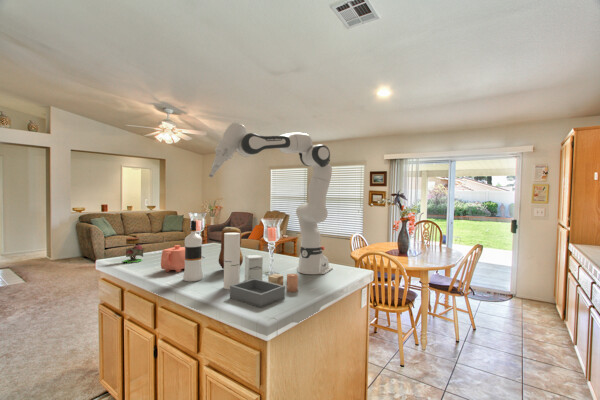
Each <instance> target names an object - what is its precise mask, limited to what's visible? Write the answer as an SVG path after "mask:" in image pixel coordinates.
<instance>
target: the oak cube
mask: <svg viewBox="0 0 600 400" xmlns="http://www.w3.org/2000/svg"><path fill="white" fill-rule="evenodd" d="M267 279H268V281H267V282H270V283H274V284H278V285H282V286H284V275H283V274H278V273H273V274H270V275H268V277H267Z"/></svg>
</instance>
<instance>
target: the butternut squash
mask: <svg viewBox="0 0 600 400" xmlns="http://www.w3.org/2000/svg"><path fill="white" fill-rule="evenodd" d="M224 233H240V246H241V245H242V232H241V229H240V228H238V227H234V226H225V227H223V229H221V233H220V235H221V237H220V238H221V240H220V241H221V242H220V252H219V255H218V264H219V265H220V267H221V268H222V269H223V270H224ZM243 262H244V255H243V253H242V250H241V249H240V267H241V266H242V264H243Z"/></svg>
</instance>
